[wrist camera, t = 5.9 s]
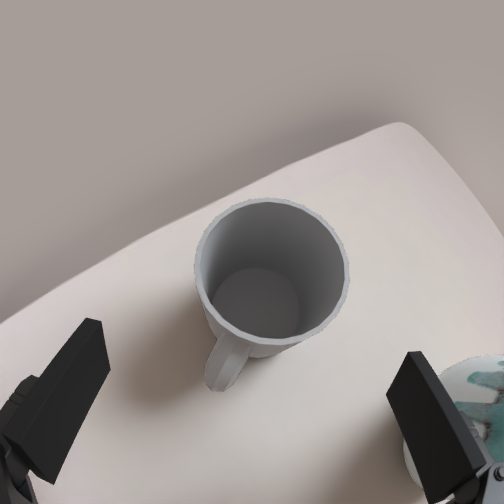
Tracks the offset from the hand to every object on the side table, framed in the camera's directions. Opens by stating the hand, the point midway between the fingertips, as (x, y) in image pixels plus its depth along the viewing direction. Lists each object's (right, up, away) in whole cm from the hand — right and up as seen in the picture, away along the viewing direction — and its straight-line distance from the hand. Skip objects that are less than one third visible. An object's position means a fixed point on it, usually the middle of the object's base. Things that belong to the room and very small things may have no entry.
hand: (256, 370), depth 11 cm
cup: (-1, -1, +10) cm, 10 cm away
